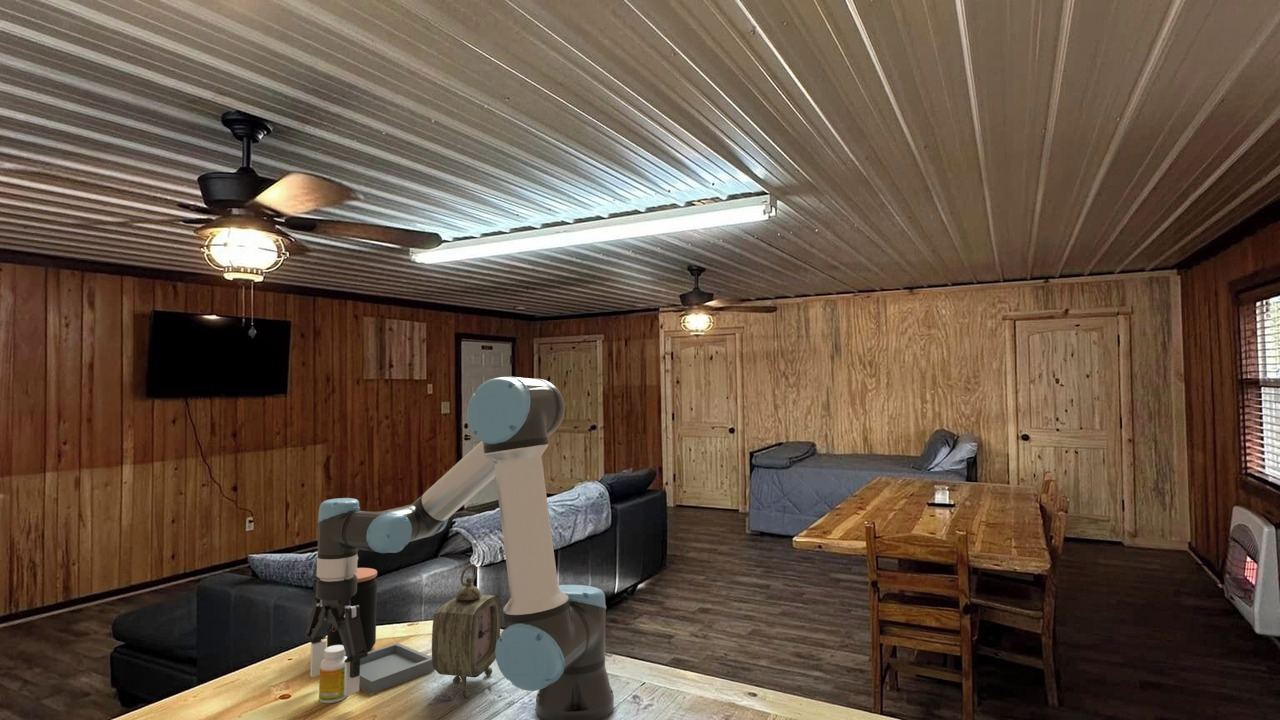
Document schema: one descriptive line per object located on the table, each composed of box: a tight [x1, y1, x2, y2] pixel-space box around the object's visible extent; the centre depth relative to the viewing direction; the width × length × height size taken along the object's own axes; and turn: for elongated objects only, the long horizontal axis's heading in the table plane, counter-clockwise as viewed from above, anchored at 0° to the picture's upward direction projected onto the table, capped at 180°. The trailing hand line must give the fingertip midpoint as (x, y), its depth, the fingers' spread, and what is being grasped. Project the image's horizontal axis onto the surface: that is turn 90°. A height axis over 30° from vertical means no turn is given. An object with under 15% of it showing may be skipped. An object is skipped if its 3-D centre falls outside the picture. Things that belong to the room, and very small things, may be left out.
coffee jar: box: [326, 567, 378, 657], centre depth 157 cm, size 11×11×18 cm
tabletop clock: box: [431, 563, 501, 698], centre depth 138 cm, size 14×9×25 cm, turn 168°
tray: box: [359, 642, 436, 695], centre depth 144 cm, size 15×15×2 cm
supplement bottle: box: [318, 645, 349, 704], centre depth 132 cm, size 5×5×10 cm
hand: (334, 683), depth 132 cm, fingers open, 13 cm apart
